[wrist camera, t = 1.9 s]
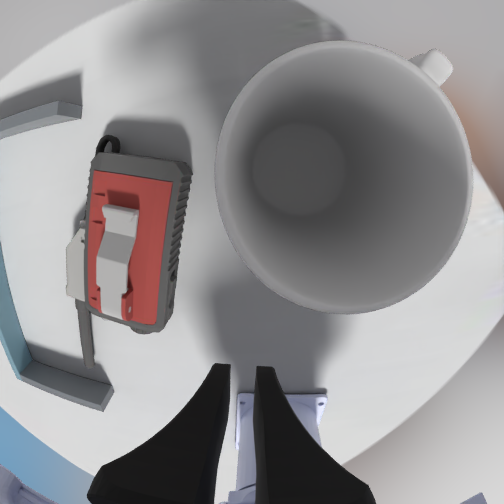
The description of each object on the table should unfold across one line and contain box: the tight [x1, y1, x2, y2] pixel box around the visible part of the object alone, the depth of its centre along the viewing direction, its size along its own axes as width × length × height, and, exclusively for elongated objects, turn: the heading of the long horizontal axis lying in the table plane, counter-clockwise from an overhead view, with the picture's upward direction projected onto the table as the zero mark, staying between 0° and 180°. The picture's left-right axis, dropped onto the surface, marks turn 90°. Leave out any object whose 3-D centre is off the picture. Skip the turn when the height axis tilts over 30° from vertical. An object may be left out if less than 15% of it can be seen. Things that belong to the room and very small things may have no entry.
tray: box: [0, 101, 114, 412], centre depth 18 cm, size 26×12×3 cm, turn 177°
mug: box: [215, 40, 473, 314], centre depth 11 cm, size 10×7×12 cm, turn 141°
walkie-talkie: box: [66, 135, 193, 369], centre depth 18 cm, size 9×4×20 cm
